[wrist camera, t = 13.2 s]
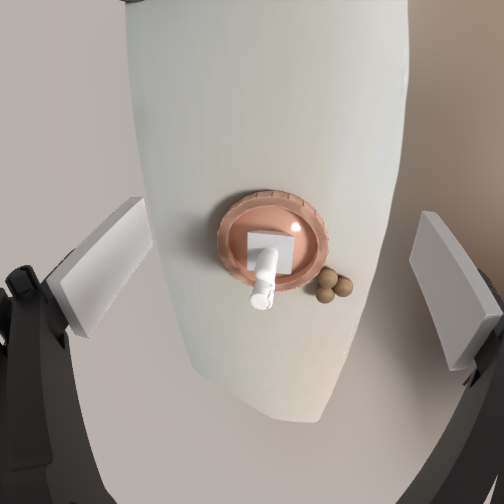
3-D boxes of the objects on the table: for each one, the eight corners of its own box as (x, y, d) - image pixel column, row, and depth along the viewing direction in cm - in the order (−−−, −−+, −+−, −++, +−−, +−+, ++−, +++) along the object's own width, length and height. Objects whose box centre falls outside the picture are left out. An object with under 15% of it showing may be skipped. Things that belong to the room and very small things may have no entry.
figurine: (250, 262, 53) (234, 324, 41) (251, 215, 48) (232, 271, 36) (291, 266, 52) (285, 330, 40) (296, 219, 47) (292, 277, 35)
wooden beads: (318, 263, 52) (319, 276, 49) (355, 265, 51) (357, 278, 48) (314, 293, 56) (314, 306, 53) (348, 295, 55) (350, 308, 52)
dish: (215, 187, 47) (211, 194, 45) (332, 192, 44) (334, 199, 42) (224, 278, 57) (221, 287, 55) (321, 285, 55) (322, 294, 52)
